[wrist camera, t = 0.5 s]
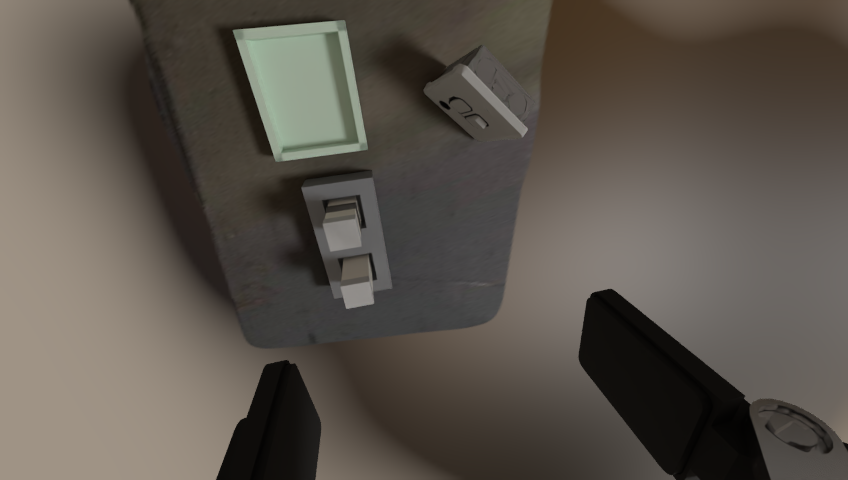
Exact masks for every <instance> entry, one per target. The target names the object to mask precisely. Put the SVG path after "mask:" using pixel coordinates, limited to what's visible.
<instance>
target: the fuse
mask: <svg viewBox="0 0 848 480" xmlns="http://www.w3.org/2000/svg"><path fill="white" fill-rule="evenodd" d="M340 287H341V291H342V295H343V298H344V302H345V305H346V309H349V308H354V307H359V306H364V305H370V304H374V296H373V281H372V264H371V260H370V255H369V253H367V254H361V255H355V256H349V257H344V259H343V269H342V280H341V285H340Z"/></svg>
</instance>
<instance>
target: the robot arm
mask: <svg viewBox="0 0 848 480" xmlns="http://www.w3.org/2000/svg"><path fill="white" fill-rule="evenodd" d="M579 361H580V364H581V366H582V367H583V369H584V370H585V371H586V372H587V374H588V375H589V376H590V378H591V379H592V380H593V382H594V383H595V384H596V385H597V387H598V388H599V389H600V390H601V392H602V393H603V394H604V396H605V397H606V398H607V399H608V401H609V402H610V403H611V404H612V406H613V407H614V408H615V409H616V411H617V412H618V413H619V415H620V416H621V417H622V418H623V420H624V421H625V422H626V424H627V425H628V426H629V427H630V428H631V430H632V431H633V432H634V434H635V435H636V436H637V438H638V439H639V440H640V441H641V443H642V444H643V445H644V446H645V448H646V449H647V450H648V452H649V453H650V454H651V455H652V457H653V458H654V459H655V460H656V462H657V463H658V464H659V466H660V467H661V468H662V469H663V470H664V471H665V472H666V473H667V474H669V475H673V476H674V477H675V479H676V480H848V444H847V443H844V442H842V441H841V439H840V438H839V437H838V435H837V434H836V433H835V431H833V430H832V429H831V428H830V427H829V426H828V425H827V424H826V423H825V422H823V421H822V420H820V419H819V418H817V417H816V416H814V415H813V414H811V413H810V412H808V411H806V410H804V409H802V408H800V407H798V406H796V405H793V404H790V403H787V402H784V401H780V400H775V399H758V400H756V401H753V402H752V404H749V403H748V402H747V401H746V400H745V399H744V397H745V395H743V394H742V393H741V392H740V391H738V390H737V389H736V388H735V387H733V386H732V385H731V384H730V383H729V382H727V381H726V380H725V379H723V378H722V377H721V376H720V375H719V374H717V373H716V372H715V371H714V370H712V369H711V368H710V367H709V366H707V365H706V364H705V363H704V362H703V361H701V360H700V359H699V358H698V357H696V356H695V355H694V354H693V353H691V352H690V351H689V350H688V349H686V348H685V347H684V346H682V345H681V344H680V343H679V342H678V341H677V340H675V339H674V338H673V337H671V336H670V335H669V334H668V333H667V332H665V331H664V330H663V329H662V328H660V327H659V326H658V325H657V324H655V323H654V322H653V321H652V320H650V319H649V318H648V317H647V316H646V315H644V314H643V313H642V312H641V311H639V310H638V309H637V308H636V307H634V306H633V305H632V304H631V303H629V302H628V301H627V300H626V299H624V298H623V297H622V296H621V295H619V294H618V293H617V292H616V291H614V290H612V289H607V290H603V291H598V292H594V293H592V294H591V296H590V298H588V299H587V303H586V310H585V316H584V322H583V329H582V336H581V343H580V349H579ZM320 436H321V422H320V418H319V416H318V414H317V411H316V409H315V407H314V404H313V402H312V400H311V398H310V395H309V393H308V391H307V388H306V386H305V384H304V382H303V379H302V377H301V375H300V372H299V370H298V368H297V366H296V364H290V363H289V361H287V360H284V361H280V362H275V363H271V364H267V365H266V366H265V367H264V369H263V372H262V375H261V378H260V380H259V383H258V386H257V389H256V392H255V395H254V398H253V400H252V404H251V406H250V409H249V412H248V415H247V418H244V419H242V420H240V422H239V423H238V424H237V426H236V428H235V430H234V433H233V436H232V438H231V441H230V444H229V447H228V449H227V452H226V455H225V457H224V460H223V463H222V465H221V468H220V471H219V473H218V476H217V479H216V480H315V477H316V469H317V461H318V452H319V444H320Z"/></svg>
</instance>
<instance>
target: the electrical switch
mask: <svg viewBox="0 0 848 480" xmlns="http://www.w3.org/2000/svg"><path fill="white" fill-rule="evenodd" d="M481 46H482V45H481ZM481 46H479V47H478V48H476V49H474V50H473V51H471V52H470V53H468V54H467V55H465V56H463V57H462V58H460V59H459V60H457V61H456V62H454V63H453V64H451V65H449V66H448V67H447V68H446V70H445V72H444V73H443V75H442V74H441V76H440V77H439V78H438V79H437V80H435V81H433V82H431V81H430V82H428V83H427V85H426V86H425V88H424V93H425V94H426V95H427V96H428V97H429V98H430V99H431V100H432V101H433V102H434V103H435V104H437V105H438V106H439V107H440V108H441V109H442V110H443V111H444V112H445V113H446V114H448V115H449V116H450V117H451V118H452V119H453V120H454V121H455V122H456V123H458V124H459V125H460V126H461V127H462V128H463V129H464V130H465V131H466V132H468V133H469V134H470V135H471V136H472V137H473V138H474V139H476V140H477V141H479V142H485V141H497V140H508V139H520V138H522V137H523V136H524V134H525V133H526V132H527V130H528V129H527V128H526V127H525V126H524V125H523V122H524V121H525V119H526V118H527V116H528V113H529V111H530V110H531V108H532V107H533V105H534V103H535V101H534V100H533V99H532V97H531V96H530V95H529V94H528V93H527V92H526V91H525V90H524V89H523V88H522V86H521V85H520V84H519V83H518V82H517V81H516V80H515V79H514V78H513V77H512V75H511V74H510V73H509V72H508V71H507V70H506V69H505V68H504V67H503V65H502V64H501V63H500V62H499V61H498V60H497V59H496V58H495V57H494V56H493V54H492V53H491V52H490V51H489V50H488V49H487V48H486V47H485V46H484V45H483V46H482V47H481ZM480 47H481V49H480ZM479 49H480V50H479ZM478 51H479V52H478ZM495 80H496V82H495ZM494 82H495V84H494V85H493V83H494ZM492 88H493V89H492ZM523 94H524V95H523ZM507 95H508V96H507ZM503 99H504V100H505V101H504V100H503ZM508 103H509V107H508Z"/></svg>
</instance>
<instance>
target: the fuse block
mask: <svg viewBox="0 0 848 480" xmlns="http://www.w3.org/2000/svg"><path fill="white" fill-rule="evenodd" d="M301 189H302V192H303V195H304V199H305V202H306V205H307V209H308V212H309V215H310V219H311V222H312V225H313V229H314V232H315V235H316V239H317V242H318V245H319V249H320V252H321V255H322V259H323V262H324V265H325V269H326V272H327V275H328V279H329V282H330V285H331V289H332V292H333V295H334V299H336V298H341V297H343V295H342V291H341V287H340V285H341V280H342V269H343V259H344V257H349V256H355V255H361V254H367V253H369V255H370V260H371V264H372V281H373V292H374V291H379V290H385V289H390V288H392V282H391V275H390V270H389V264H388V258H387V253H386V247H385V242H384V236H383V230H382V225H381V219H380V214H379V208H378V202H377V197H376V191H375V185H374V180H373V174H372V170H370V171H363V172H356V173H349V174H342V175H335V176H328V177H321V178H314V179H307V180H305V181H304V183H303V185H302V187H301ZM354 195H357V198H358V203H359V207H360V212H361V241H362V246H361V247H356V248H350V249H344V250H338V251H332V252H330V248H329V245H328V241H327V238H326V234H325V231H324V227H323V221H324V219H325V215H326V209H327V206H328V203H329V199H334V198H340V197H347V196H354Z"/></svg>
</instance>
